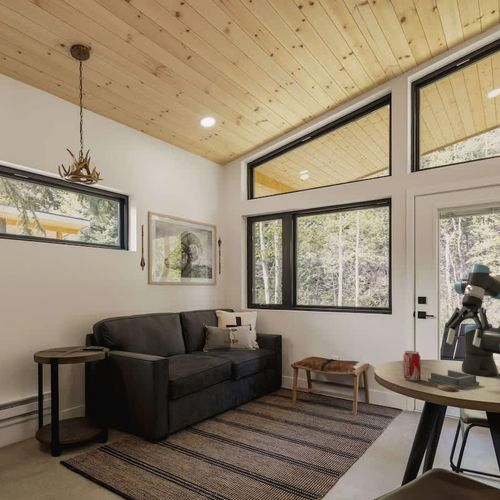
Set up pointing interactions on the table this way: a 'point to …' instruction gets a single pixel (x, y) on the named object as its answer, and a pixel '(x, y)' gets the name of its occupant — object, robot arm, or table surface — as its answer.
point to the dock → (454, 379)
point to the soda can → (412, 365)
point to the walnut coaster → (447, 387)
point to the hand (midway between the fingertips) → (461, 344)
